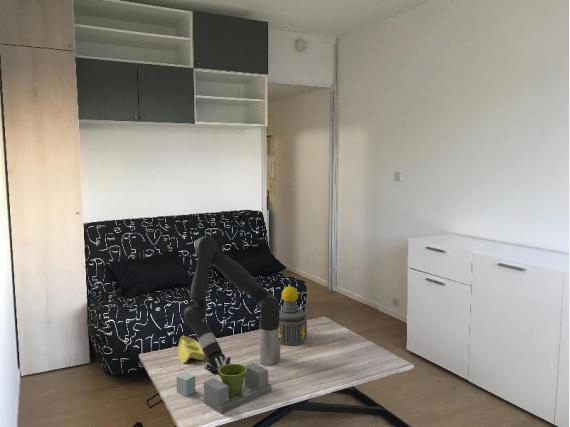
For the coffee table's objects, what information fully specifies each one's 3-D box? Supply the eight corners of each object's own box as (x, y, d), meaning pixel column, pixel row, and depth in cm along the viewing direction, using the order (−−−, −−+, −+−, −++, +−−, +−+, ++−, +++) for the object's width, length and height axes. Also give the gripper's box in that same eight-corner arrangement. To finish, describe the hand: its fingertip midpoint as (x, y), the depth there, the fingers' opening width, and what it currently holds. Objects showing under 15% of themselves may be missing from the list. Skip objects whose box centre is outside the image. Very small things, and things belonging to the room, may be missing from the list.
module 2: (214, 398, 194) (213, 377, 193) (228, 407, 187) (228, 385, 186) (203, 402, 191) (203, 381, 190) (218, 412, 184) (218, 390, 183)
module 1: (185, 387, 204) (185, 372, 204) (195, 391, 201) (195, 375, 200) (176, 392, 200) (176, 376, 200) (186, 396, 197) (186, 380, 196)
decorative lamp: (314, 339, 261) (314, 286, 258) (292, 348, 247) (291, 293, 244) (288, 331, 273) (288, 280, 270) (266, 340, 259) (265, 287, 256)
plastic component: (207, 355, 233) (189, 350, 228) (201, 369, 233) (183, 364, 228) (196, 339, 250) (179, 334, 246) (190, 352, 250) (173, 347, 245)
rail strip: (267, 389, 202) (267, 383, 201) (271, 391, 200) (271, 384, 200) (218, 411, 184) (217, 404, 184) (221, 414, 182) (221, 406, 182)
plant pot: (246, 401, 192) (246, 375, 190) (217, 402, 191) (216, 375, 190) (248, 388, 203) (247, 363, 202) (220, 388, 203) (220, 363, 202)
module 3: (253, 382, 209) (252, 362, 208) (268, 390, 201) (268, 369, 201) (244, 386, 205) (244, 366, 204) (259, 394, 198) (259, 373, 197)
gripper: (200, 345, 201) (217, 382, 194) (225, 337, 210) (242, 372, 203) (193, 353, 206) (210, 390, 198) (218, 345, 215) (235, 380, 207)
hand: (226, 381), depth 200 cm, fingers closed
